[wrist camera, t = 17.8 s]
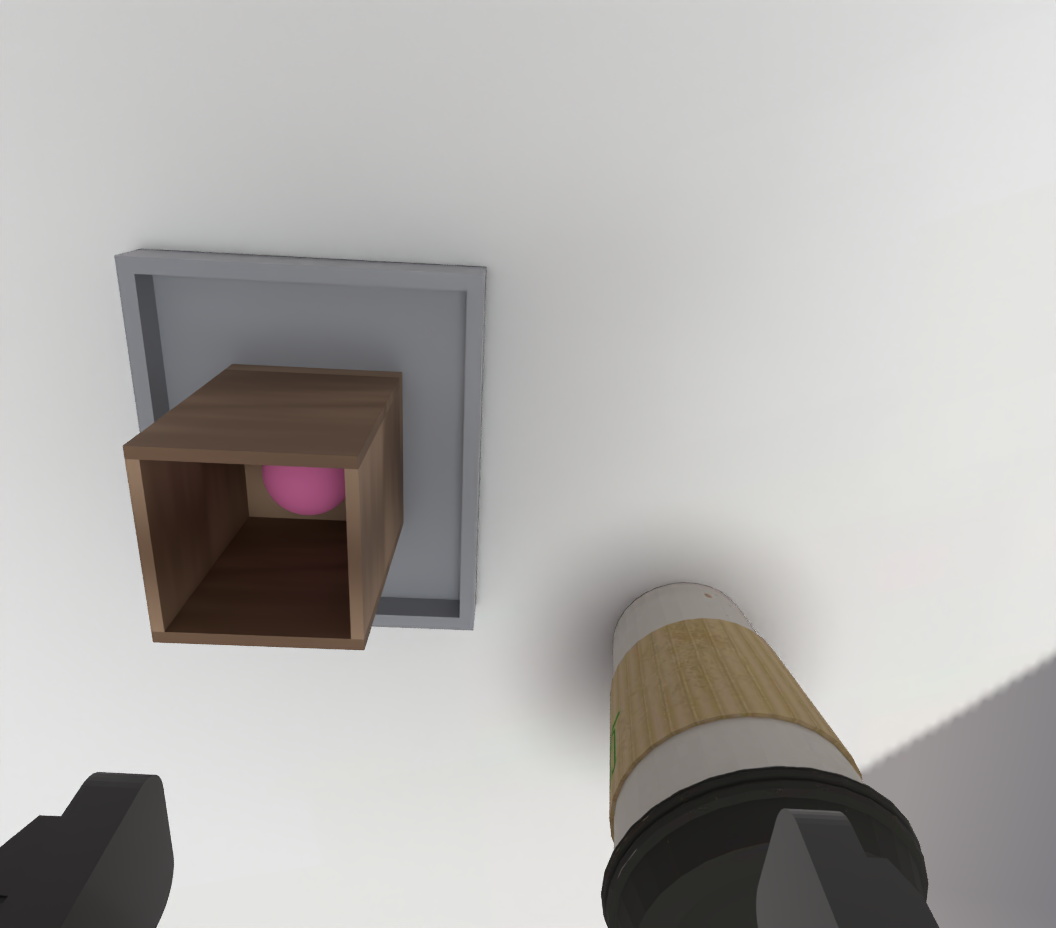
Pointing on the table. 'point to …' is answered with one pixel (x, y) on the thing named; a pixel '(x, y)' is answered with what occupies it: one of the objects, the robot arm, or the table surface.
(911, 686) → the table surface
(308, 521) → the pen cup
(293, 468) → the ball
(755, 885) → the coffee cup
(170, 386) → the tray
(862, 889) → the robot arm
